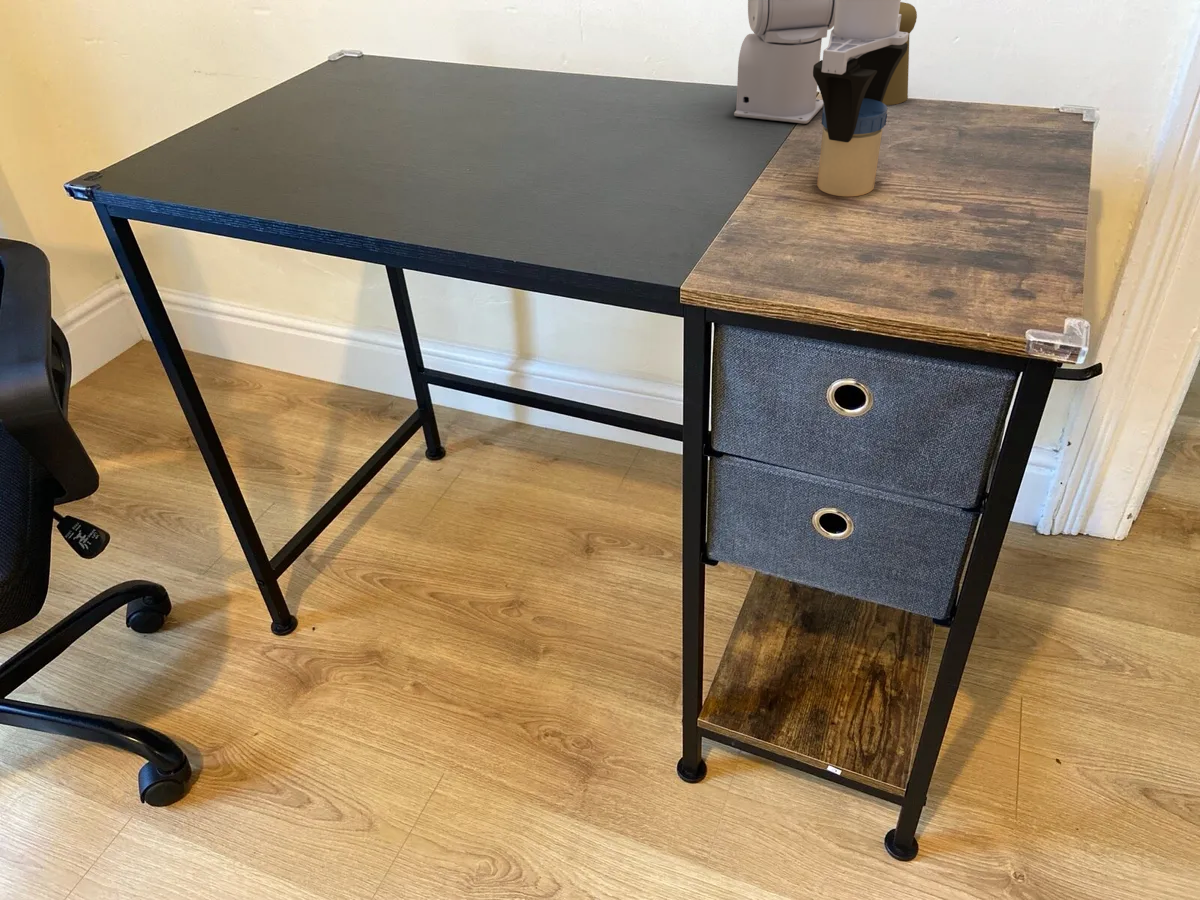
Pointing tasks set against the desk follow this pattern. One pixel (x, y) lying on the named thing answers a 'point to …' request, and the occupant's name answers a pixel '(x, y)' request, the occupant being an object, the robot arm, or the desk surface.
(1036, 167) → the desk surface
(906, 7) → the olive cone figure
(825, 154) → the jar
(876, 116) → the lid
